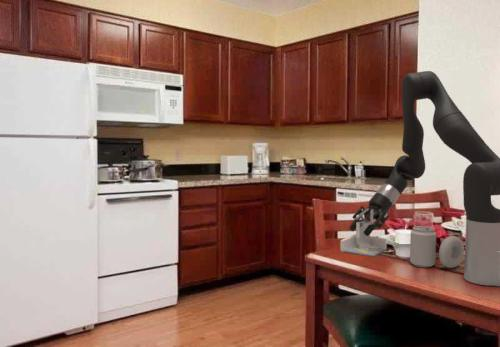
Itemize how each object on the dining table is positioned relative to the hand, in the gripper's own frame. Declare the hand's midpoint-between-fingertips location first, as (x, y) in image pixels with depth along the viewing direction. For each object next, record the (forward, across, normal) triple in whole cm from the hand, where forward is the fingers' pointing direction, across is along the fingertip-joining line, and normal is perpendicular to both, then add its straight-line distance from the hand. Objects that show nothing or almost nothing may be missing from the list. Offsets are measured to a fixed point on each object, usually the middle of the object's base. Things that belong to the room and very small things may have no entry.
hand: (358, 232), depth 152 cm
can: (-1, +23, +10) cm, 25 cm away
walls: (+4, +2, +6) cm, 7 cm away
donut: (-5, +29, +15) cm, 33 cm away
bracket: (+3, +2, +6) cm, 7 cm away
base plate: (+4, +2, +6) cm, 7 cm away
